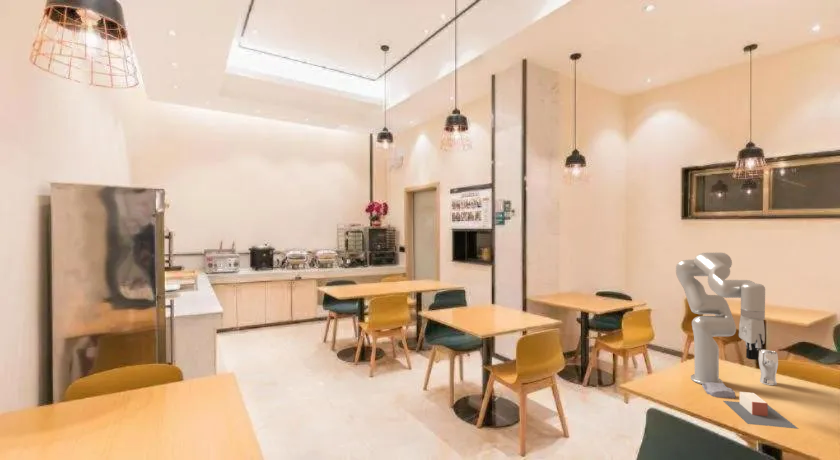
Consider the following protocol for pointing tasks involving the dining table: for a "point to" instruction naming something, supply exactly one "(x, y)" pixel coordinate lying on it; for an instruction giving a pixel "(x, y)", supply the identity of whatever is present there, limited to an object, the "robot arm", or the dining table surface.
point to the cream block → (753, 404)
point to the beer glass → (768, 366)
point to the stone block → (718, 390)
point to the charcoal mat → (769, 420)
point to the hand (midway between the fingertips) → (751, 358)
